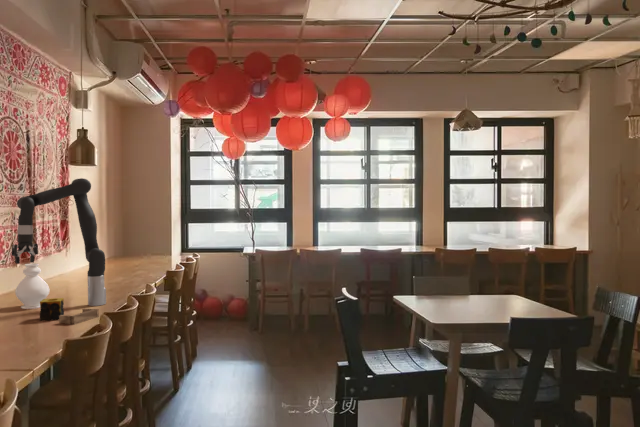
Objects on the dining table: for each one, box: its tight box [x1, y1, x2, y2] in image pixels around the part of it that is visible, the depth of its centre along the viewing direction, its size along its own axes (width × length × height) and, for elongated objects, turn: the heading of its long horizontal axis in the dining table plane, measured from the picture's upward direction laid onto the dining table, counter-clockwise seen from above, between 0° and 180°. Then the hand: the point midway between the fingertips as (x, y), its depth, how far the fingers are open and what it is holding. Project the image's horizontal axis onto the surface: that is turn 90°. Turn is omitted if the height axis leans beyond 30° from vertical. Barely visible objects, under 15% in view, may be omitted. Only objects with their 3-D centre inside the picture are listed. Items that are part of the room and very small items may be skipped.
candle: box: [39, 297, 65, 322], centre depth 299 cm, size 10×10×10 cm
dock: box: [58, 307, 100, 325], centre depth 294 cm, size 9×19×4 cm, turn 165°
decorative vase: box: [15, 263, 51, 310], centre depth 332 cm, size 18×18×25 cm
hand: (24, 263), depth 310 cm, fingers open, 8 cm apart
